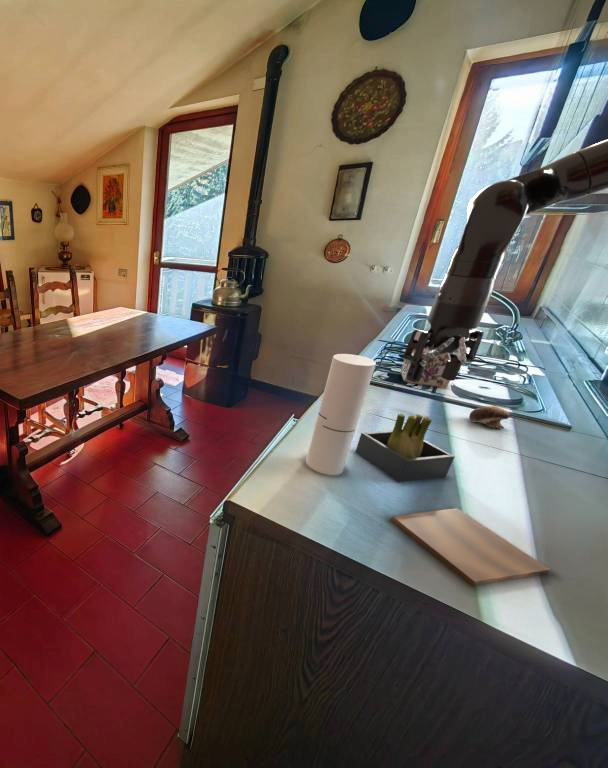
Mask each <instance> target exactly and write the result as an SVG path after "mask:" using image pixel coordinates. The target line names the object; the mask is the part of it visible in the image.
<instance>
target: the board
mask: <svg viewBox="0 0 608 768" xmlns="http://www.w3.org/2000/svg"><path fill="white" fill-rule="evenodd" d="M390 521H392V522H394V524H396V525H397V526H398V527H399V528H401V529H402V530H403V531H404V532H406V533H407V534H408V535H409V536H411V538H413V539H414V540H415V541H416V542H418V543H419V544H421V545H422V546H423V547H425V549H426V550H428V551H429V552H430V553H431V554H433V555H434V556H436V558H438V559H439V560H440V561H442V562H443V563H444V564H446V566H448V567H449V568H450V569H451V570H453V571H454V572H455V573H456V574H458V575H459V576H460V577H461V578H463V580H465V581H467V582H468V583H469V584H470V585H471V586H474V587H475V586H479V585H485V584H486V585H487V584H493V583H498V582H503V581H510V580H517V579H523V578H527V577H533V576H540V575H546V574H549V572H550V571H551V569H550V568H549V567H548V566H546V565H544V564H543V563H541V562H540V561H538V560H537V559H535V558H534V557H533V556H531V555H530V554H527V553H526V552H524V551H523V550H522V549H520V548H518V547H517V546H515V545H514V544H513V543H511V542H509V541H508V540H507V539H506V538H503V537H502V536H500V535H499V534H497V533H496V532H494V531H493V530H491V529H490V528H488V527H487V526H485V525H483V523H481V522H479V521H478V520H476V519H475V518H473V517H472V516H470V515H468V514H467V513H465V512H464V511H462V510H461V509H459V508H458V507H455V508H446V509H439V510H430V511H423V512H415V513H405V514H398V515H392V516H391V518H390Z"/></svg>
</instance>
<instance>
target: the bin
mask: <svg viewBox="0 0 608 768" xmlns="http://www.w3.org/2000/svg"><path fill="white" fill-rule="evenodd" d="M392 431H393V429H392V430H380V431H368V432H361V433H360V436H359V439H358V442H357V445H356V448H355V454H357V455H358V456H360V457H362V458H363V459H364V460H366V461H367V462H369V463H370V464H371V465H373V466H375V467H376V468H377V469H379V470H380V471H382V472H383V473H385V474H386V475H387V476H389V477H390V478H392V479H393V480H395V481H396V482H397V483H406V482H417V481H425V480H431V479H432V480H434V479H443V478H447V476H448V474H449V471H450V469H451V466H452V464H453V462H454V460H455V455H453V454H451V453H449V452H448V451H445V450H444V449H442V448H441V447H438V446H437V445H435V444H433V443H431V442H429V441H427V440H425V439H424V441H423V449H422V452H421V455H420V457H419V458H410V459H406V458H405V457H403V456H401V455H400V454H398V453H397V452H395V451H393V450H392V449H390V448H388V447H387V443H388V440H389V438H390V436H391V434H392Z"/></svg>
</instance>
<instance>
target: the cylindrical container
mask: <svg viewBox="0 0 608 768" xmlns="http://www.w3.org/2000/svg"><path fill="white" fill-rule="evenodd" d="M376 366H377V362H376V361H375V360H374V359H372V358H369V357H366V356H363V355H357V354H351V353H337V354H334V355H333V356H332V360H331V364H330V368H329V371H328V376H327V379H326V382H325V386H324V391H323V395H322V398H321V402H320V406H319V409H318V413H317V417H316V421H315V424H314V427H313V428H314V430H313V433H312V436H311V441H310V444H309V447H308V451H307V455H306V458H305V463H306V465H307V466H308V467H309V468H310V469H311V470H313V471H315V472H317V473H320V474H322V475H328V476H339V475H341V474H342V473H343V472H344V469H345V466H346V463H347V459H348V455H349V452H350V450H351V447H352V443H353V439H354V436H355V433H356V429H357V427H358V423H359V420H360V417H361V413H362V410H363V407H364V404H365V401H366V398H367V394H368V390H369V388H370V384H371V381H372V378H373V374H374V372H375V368H376Z"/></svg>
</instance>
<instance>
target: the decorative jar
mask: <svg viewBox="0 0 608 768" xmlns="http://www.w3.org/2000/svg"><path fill="white" fill-rule="evenodd" d="M426 349H428V350H430V349H429V348H428V347H427V348H426ZM414 353H415V349H413V351H412V355H413V354H414ZM424 356H425V354H423V355H421V357H420V358H423V357H424ZM447 361H451V360H450V359H449V357H448V353H447V352H445V353H439V354H438V355H437V356H436V357H433V358H431V359H430V360H429V361H428V362H427V363H426V364H425V367H424V370H423V373H422V375H421V378H420V381H419V382H412V381H410V380H408V379H407V372H408V369H409V367H410V364H411V362H410V361H409V360H407V359H404V358H403V362H402V365H401V369H400V375H401V377H402V380H403V381H404V382H405V383H411V384H417V385H423V386H429V387H436V388H441V389H448V386H449V384H450V382H451V381H449V380H446V379H444V378H442V373H443V371H444V368H445V366H446V363H447ZM402 369H403V370H402ZM403 371H404V372H405V375H404V374H403Z"/></svg>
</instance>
